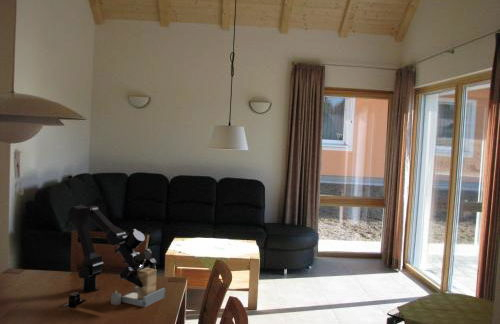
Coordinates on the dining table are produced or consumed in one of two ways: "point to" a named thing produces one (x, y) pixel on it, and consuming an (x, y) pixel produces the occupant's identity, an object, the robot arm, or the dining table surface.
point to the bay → (133, 297)
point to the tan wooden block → (147, 282)
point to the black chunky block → (74, 300)
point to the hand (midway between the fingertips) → (149, 284)
